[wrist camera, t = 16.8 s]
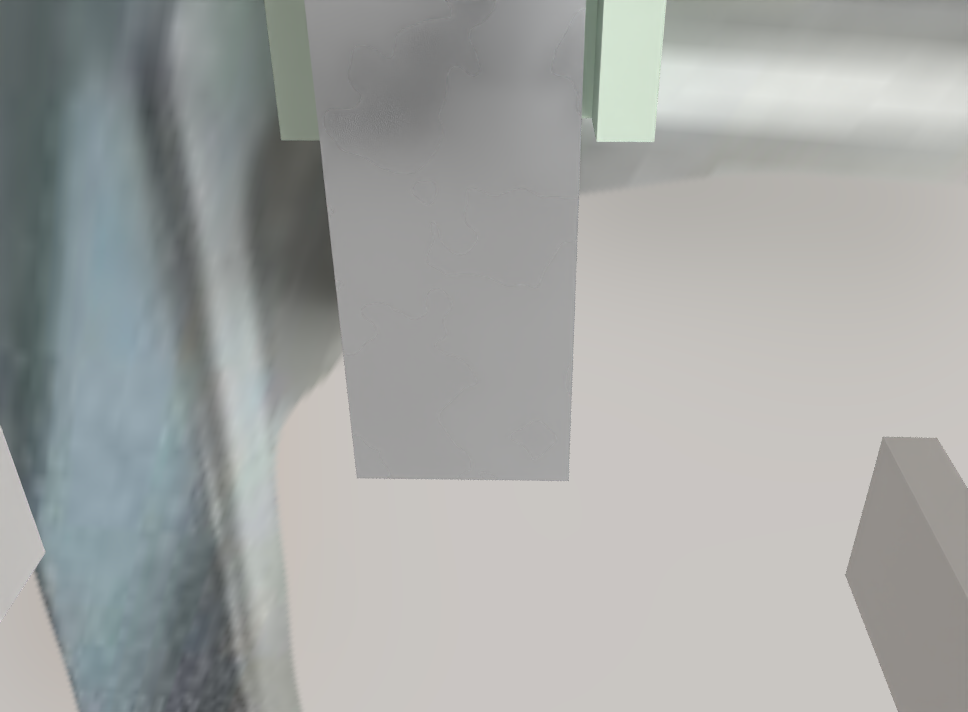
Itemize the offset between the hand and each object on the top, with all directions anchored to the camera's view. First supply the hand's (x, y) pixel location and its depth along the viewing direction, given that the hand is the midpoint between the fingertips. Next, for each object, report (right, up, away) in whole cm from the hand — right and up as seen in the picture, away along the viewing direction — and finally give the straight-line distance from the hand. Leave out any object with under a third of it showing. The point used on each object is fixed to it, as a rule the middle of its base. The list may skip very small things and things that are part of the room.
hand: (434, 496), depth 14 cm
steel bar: (0, +10, +9) cm, 14 cm away
